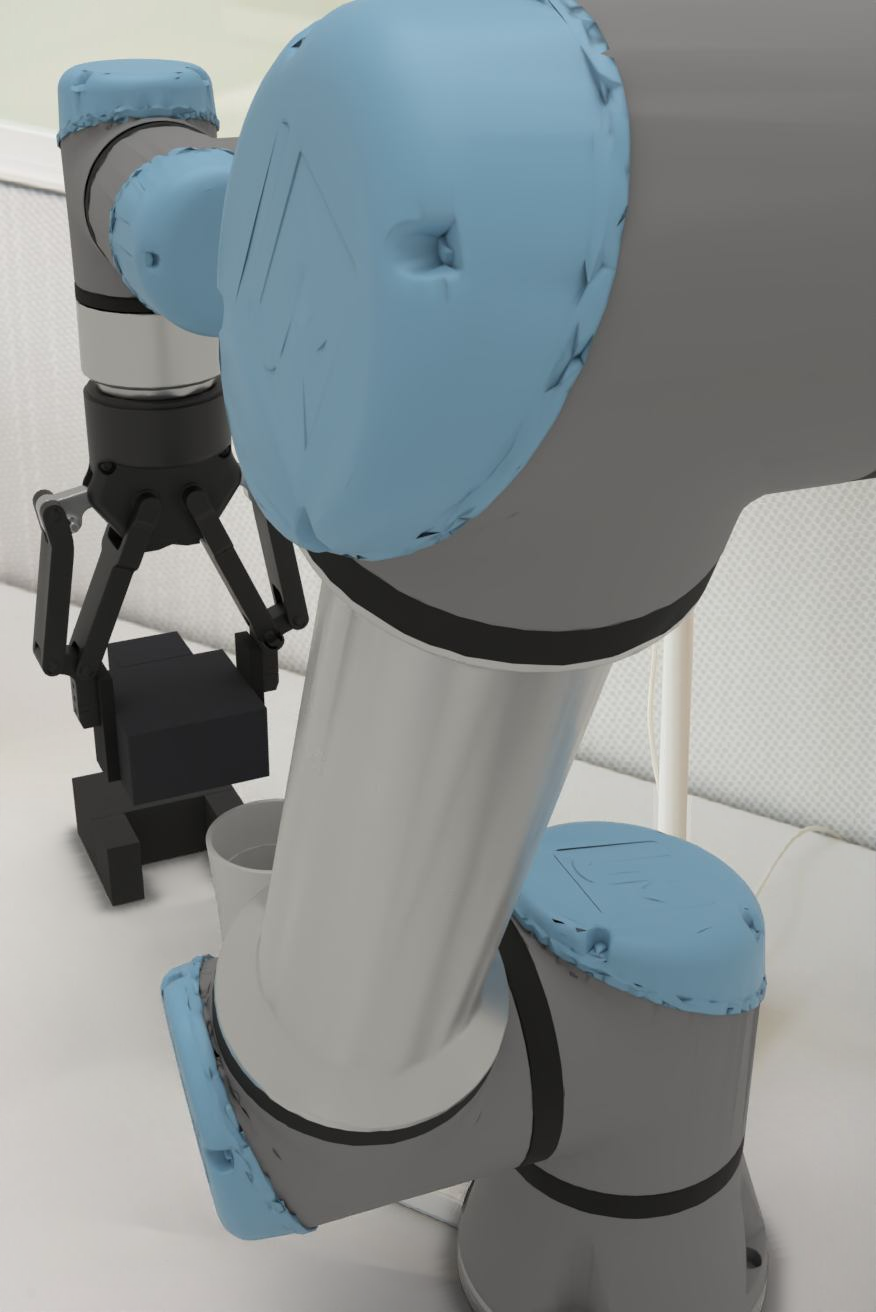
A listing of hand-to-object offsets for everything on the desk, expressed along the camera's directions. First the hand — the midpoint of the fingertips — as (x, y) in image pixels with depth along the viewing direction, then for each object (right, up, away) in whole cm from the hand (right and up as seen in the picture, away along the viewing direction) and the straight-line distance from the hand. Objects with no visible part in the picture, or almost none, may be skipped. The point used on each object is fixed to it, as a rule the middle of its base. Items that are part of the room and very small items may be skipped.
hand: (182, 754), depth 95 cm
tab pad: (-1, 0, +2) cm, 2 cm away
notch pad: (-4, -8, +19) cm, 21 cm away
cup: (+5, -15, +4) cm, 17 cm away
